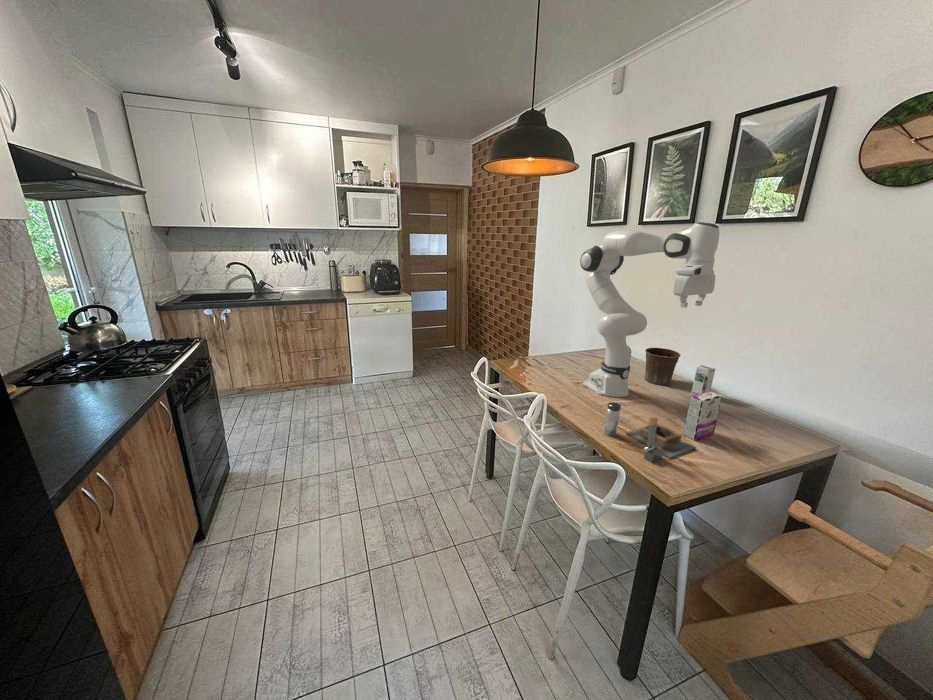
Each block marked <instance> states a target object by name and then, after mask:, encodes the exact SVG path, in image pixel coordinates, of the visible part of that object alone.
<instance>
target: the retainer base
mask: <svg viewBox="0 0 933 700" xmlns="http://www.w3.org/2000/svg"><path fill="white" fill-rule="evenodd" d="M642 451H643V453H644V456H643V459H644V460H646V461H648V462H649V463H651V464H653V463H655V462H659V461H661V460H662V459H663V451H661V450H660V449H658V448H657V446H656V445H654V446H651V447H647V446H646V447H644V448H643V449H642Z"/></svg>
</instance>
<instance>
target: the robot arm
mask: <svg viewBox="0 0 933 700" xmlns="http://www.w3.org/2000/svg"><path fill="white" fill-rule="evenodd" d="M719 227H720V226H718V225H717V224H715V223H711V222H701V221H700V222H696V223H693V225H692V226H690V227H688V228H687V229H683V230H682V231H681V230H680V231H678V232H675V233H671V234H669V235H668V236H663V235H656V234H651V233H647V232H643V231H640V230H639V231H638V230H632V229H629V230H628V229H623V230H615V231H610V232H608V233H607V234H606V235H605V236H604V237H603V239H602V242H601V245H599V246H598V245H594V246H593V247H591V248H589V249H587V250H585V251H584V252H583V253H582V254H581V256H580V260H579V264H580V267H581V269H583V271H585V272H589V274H588V276H587V278H586V285H587V288H588V289H589V292H590V294H591V296H592V298H593V300H594V302H595V304H596V306H597V308H598V309H599V310H600V311H601V312H602V313H605V314H606V315H604V316H602V317H600V319H599V320H598V323H597V331H598V333H599V335H600V336H602V337H603V340H604V342H605V357H604V361H602V362H600V364H599V365H600V366H601V367H599V368H598V369H596V370H594V371H592V372H591V373H589V375H588V378H587V379H586V380H584V381H583V383H582V384H583V386H586V387H587V388H589V389H590V390H591V391H593V392H594V393H596V394H597V395H599V396H609V397H612V398H613V397H615V398H624V397H627V396H629V395H630V391H629V375H630V371H631V358H632V348H631V347H630V346H629V345H628V344H627V337H630V336H636V335H638V334H641V333H642V332H644V331H645V330H646V328H647V326H648V319H647V318H646V316H645V314H643V313H642V312H639V311H637V310H636V309H634V308H633V307H632V306H631V305H630V304H629V303H628V302H627V301H625V299H624V298H623V297H622V295H620V292H619V291H618V290H617V287H616V286H615V284H614V282H613V281H612V279H611V276H612V275H615V274H616V273H617V271H618V270H619V269H620V268H621V267H622V265H623V263H624V260H625V259H624V258H625V257H634V256H641V255H648V254H655V253H664V255H665V256H666V257H668V258H671V259H678V260H681V259H685V263H684V264H682V265H680V266H679V267H677V268H676V269H675V274H676V276H675V279H674V284H673V292H672V293H673V295H675V296H677V297H679V301H680V305H679V306H680V308H684V309H685V308H688V301H687V299H688V297H689V296H696V295H697V296H698V298H697V299H696V300H695V303H694V305H695V306H697V307H701V306H702V305H703V302H704V300H705V299H706V296H707V295H709V294H713V293H714V291H715V286H716V284H715V283H716V274H715V271H714V265H715V253H716V252H717V250H718V246H719V240H720V228H719Z"/></svg>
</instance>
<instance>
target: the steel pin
mask: <svg viewBox="0 0 933 700" xmlns="http://www.w3.org/2000/svg"><path fill="white" fill-rule="evenodd" d="M621 407H622V406H621V404H619V403H618V402H613V401H610V402H608V403H607V408H606V409H607V410H606V417H605V422H604V429H603V430H604V431H603V434H605V436H608V437H616V436H617V433H618V426H619V422H620V421H619V420H620V419H619V418H620V412H621Z"/></svg>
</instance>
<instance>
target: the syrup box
mask: <svg viewBox="0 0 933 700" xmlns="http://www.w3.org/2000/svg"><path fill="white" fill-rule="evenodd" d="M715 373H716V367H712V366H709V365H706V364H701V365H698V366H696V370H695V374H694V379H693V383H692V388H691V392H690V394H691V396H693V395H697V394H701V393H705V392H709V391H710V392H711V390H712V385H713V381H714V378H715Z"/></svg>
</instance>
